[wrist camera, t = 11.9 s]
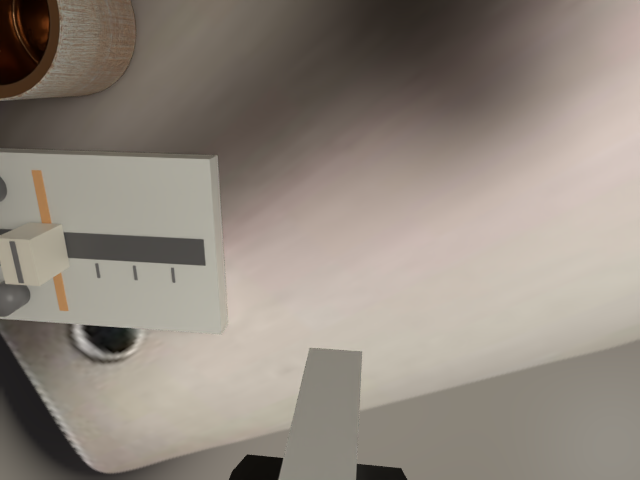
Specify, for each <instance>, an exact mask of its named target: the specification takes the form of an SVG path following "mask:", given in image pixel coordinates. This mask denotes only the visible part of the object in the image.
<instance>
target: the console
mask: <svg viewBox="0 0 640 480" xmlns="http://www.w3.org/2000/svg"><path fill="white" fill-rule="evenodd" d="M29 222H30V223H50V224H62V227H63V233H64V238H65V243H66V249H67V254H68V260H69V265H70V267H69V268H67V269H66V270H64V271H62V272H61V273H59V274H58V275H56V276H55V277H53V278H51V279H50V280H48V281H47V282H45V283H44V284H42V285H41V286H30V285H15V284H5V280H4V276H3V272H2V268H1V264H0V319H13V320H26V321H40V322H54V323H68V324H82V325H95V326H109V327H123V328H137V329H151V330H164V331H178V332H192V333H206V334H220V335H222V333H223V332H224V330H225V328H226V326H227V325H228V312H227V296H226V280H225V264H224V248H223V233H222V217H221V201H220V185H219V169H218V155H201V154H170V153H139V152H109V151H78V150H47V149H17V148H0V235H2V234H4V233H7V232H9V231H11V230H13V229H16V228H18V227H20V226H23V225H25V224H27V223H29Z"/></svg>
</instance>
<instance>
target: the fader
mask: <svg viewBox="0 0 640 480" xmlns="http://www.w3.org/2000/svg"><path fill="white" fill-rule="evenodd" d="M0 264H1V268H2V272H3V276H4V280H5V284H15V285H30V286H41V285H42V284H44V283H45V282H47V281H48V280H50V279H51V278H53V277H55V276H56V275H58V274H59V273H61V272H62V271H64V270H66V269H67V268H69V267H70V265H69V260H68V254H67V249H66V243H65V238H64V233H63V227H62V224H50V223H30V222H29V223H27V224H25V225H23V226H20V227H18V228H16V229H13V230H11V231H9V232H7V233H4V234H2V235H0Z"/></svg>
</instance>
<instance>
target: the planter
mask: <svg viewBox="0 0 640 480" xmlns="http://www.w3.org/2000/svg"><path fill="white" fill-rule="evenodd" d="M135 41H136V23H135V16H134V11H133V7H132V4H131V1H130V0H0V101H5V100H19V99H33V98H51V97H70V96H85V95H90V94H94V93H97V92H100V91H102V90H104V89H106V88H108V87H110V86H111V85H113V84H114V83H115V82H116V81H117V80H118V79H119V78H120V77H121V76H122V75H123V73H124V72H125V71H126V69H127V67H128V65H129V63H130V61H131V58H132V56H133V52H134V48H135Z"/></svg>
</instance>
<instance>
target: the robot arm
mask: <svg viewBox="0 0 640 480" xmlns="http://www.w3.org/2000/svg"><path fill="white" fill-rule="evenodd" d="M361 364H362V352H360V351H347V350H333V349H320V348H310V349H309V353H308V357H307V361H306V366H305V370H304V374H303V378H302V382H301V387H300V391H299V395H298V399H297V404H296V408H295V412H294V416H293V420H292V425H291V429H290V433H289V437H288V442H287V446H286V450H285V454H284V458H277V457H267V456H257V455H246V456H245V457H244V459H243V460H242V461H241V462H240V463H239V464H238V465H237V467H236V468H235V469H234V470H233V471H232V473H231V476H230V478H229V480H407V478H406V476H405V475H404V473H403V471H402V469H401V468H393V467H383V466H372V465H362V464H357V448H358V447H357V446H358V426H359V406H360V385H361Z"/></svg>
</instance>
